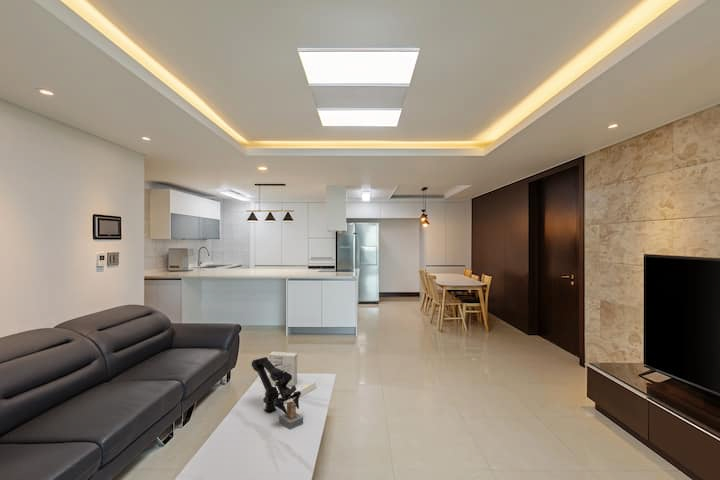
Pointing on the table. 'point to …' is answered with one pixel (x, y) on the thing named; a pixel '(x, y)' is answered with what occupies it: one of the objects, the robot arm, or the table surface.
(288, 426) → the grey block with slot
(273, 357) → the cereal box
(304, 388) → the decorative molding
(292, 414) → the brown wooden block
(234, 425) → the table surface
